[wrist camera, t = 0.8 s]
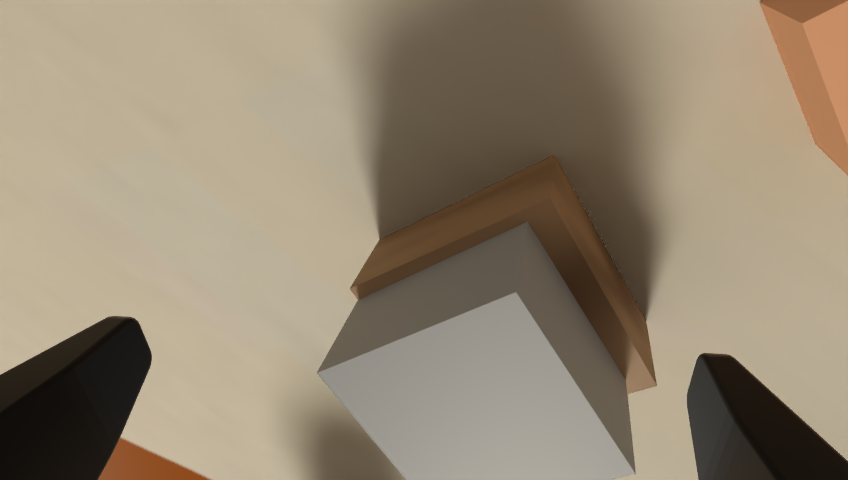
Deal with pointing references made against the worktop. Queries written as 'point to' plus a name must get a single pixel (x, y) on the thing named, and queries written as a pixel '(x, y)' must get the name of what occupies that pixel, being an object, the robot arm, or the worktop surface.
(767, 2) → the terracotta block
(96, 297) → the worktop surface
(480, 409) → the slate top block
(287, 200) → the worktop surface
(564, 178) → the walnut base block
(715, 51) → the worktop surface
